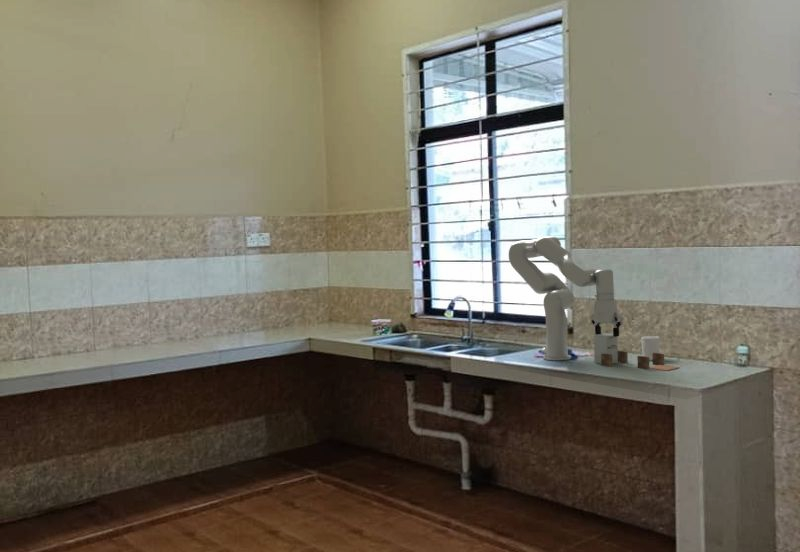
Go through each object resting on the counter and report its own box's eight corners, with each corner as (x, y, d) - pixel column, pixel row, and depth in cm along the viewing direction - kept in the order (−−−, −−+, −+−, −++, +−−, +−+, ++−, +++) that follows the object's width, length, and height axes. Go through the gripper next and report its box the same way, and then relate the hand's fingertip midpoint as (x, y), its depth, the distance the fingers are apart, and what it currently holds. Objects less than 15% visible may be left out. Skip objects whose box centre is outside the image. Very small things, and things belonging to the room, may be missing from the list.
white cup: (662, 360, 337) (661, 338, 337) (644, 360, 338) (643, 338, 337) (657, 357, 345) (656, 335, 345) (639, 357, 346) (639, 336, 345)
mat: (647, 368, 320) (647, 367, 320) (660, 365, 326) (660, 364, 326) (666, 371, 313) (666, 370, 313) (679, 368, 319) (679, 367, 318)
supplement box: (606, 364, 332) (606, 336, 331) (593, 362, 338) (593, 334, 337) (618, 362, 336) (617, 334, 335) (605, 360, 342) (604, 332, 341)
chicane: (601, 365, 331) (601, 353, 331) (625, 359, 342) (625, 348, 341) (640, 370, 316) (640, 358, 315) (664, 365, 326) (664, 353, 325)
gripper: (584, 297, 339) (586, 335, 340) (616, 298, 326) (618, 338, 326) (594, 296, 344) (596, 333, 345) (627, 296, 330) (628, 336, 331)
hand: (607, 335), depth 335 cm, fingers open, 9 cm apart
